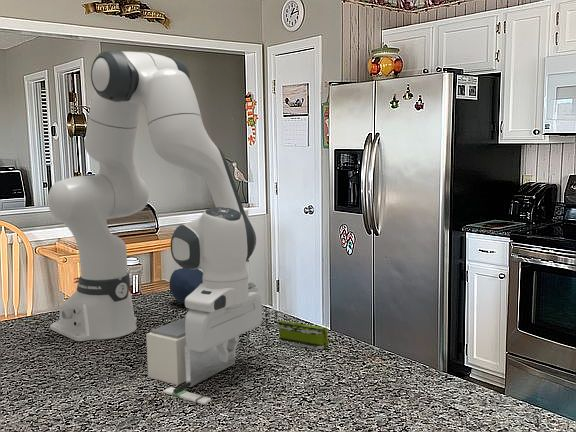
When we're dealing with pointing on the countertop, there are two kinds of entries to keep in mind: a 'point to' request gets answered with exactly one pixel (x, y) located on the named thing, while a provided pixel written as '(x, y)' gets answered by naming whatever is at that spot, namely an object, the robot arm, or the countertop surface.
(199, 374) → the plate
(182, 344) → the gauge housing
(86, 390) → the countertop surface
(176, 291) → the decorative stone
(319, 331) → the toy tank
